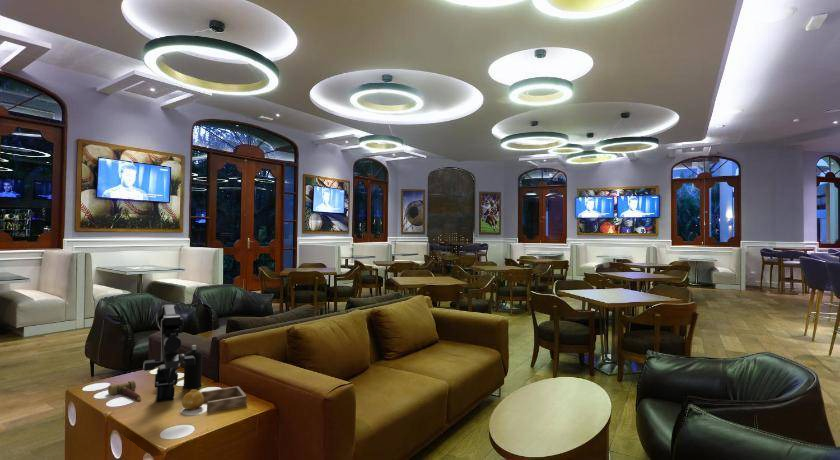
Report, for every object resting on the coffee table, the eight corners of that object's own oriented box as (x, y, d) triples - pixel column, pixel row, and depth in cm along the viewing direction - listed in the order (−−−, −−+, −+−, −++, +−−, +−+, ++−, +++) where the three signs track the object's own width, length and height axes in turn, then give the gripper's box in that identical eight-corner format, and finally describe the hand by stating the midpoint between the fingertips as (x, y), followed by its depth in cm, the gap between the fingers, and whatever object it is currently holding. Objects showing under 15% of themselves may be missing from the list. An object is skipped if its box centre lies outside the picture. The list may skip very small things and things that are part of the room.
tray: (207, 412, 188) (207, 402, 188) (201, 400, 201) (201, 391, 201) (246, 405, 197) (246, 396, 198) (238, 394, 210) (238, 386, 210)
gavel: (152, 392, 202) (128, 397, 194) (152, 402, 202) (127, 408, 194) (132, 379, 214) (108, 384, 206) (131, 388, 214) (107, 394, 206)
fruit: (190, 397, 198) (187, 385, 194) (208, 400, 198) (205, 387, 194) (180, 413, 191) (177, 400, 187) (199, 415, 191) (195, 403, 187)
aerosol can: (205, 386, 220) (206, 345, 221) (188, 390, 213) (190, 348, 214) (195, 382, 225) (197, 342, 225) (179, 387, 218) (181, 345, 218)
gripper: (145, 352, 175) (144, 393, 175) (198, 347, 186) (196, 385, 186) (144, 346, 185) (142, 384, 184) (194, 342, 195) (192, 378, 195)
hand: (168, 383), depth 187 cm, fingers closed
